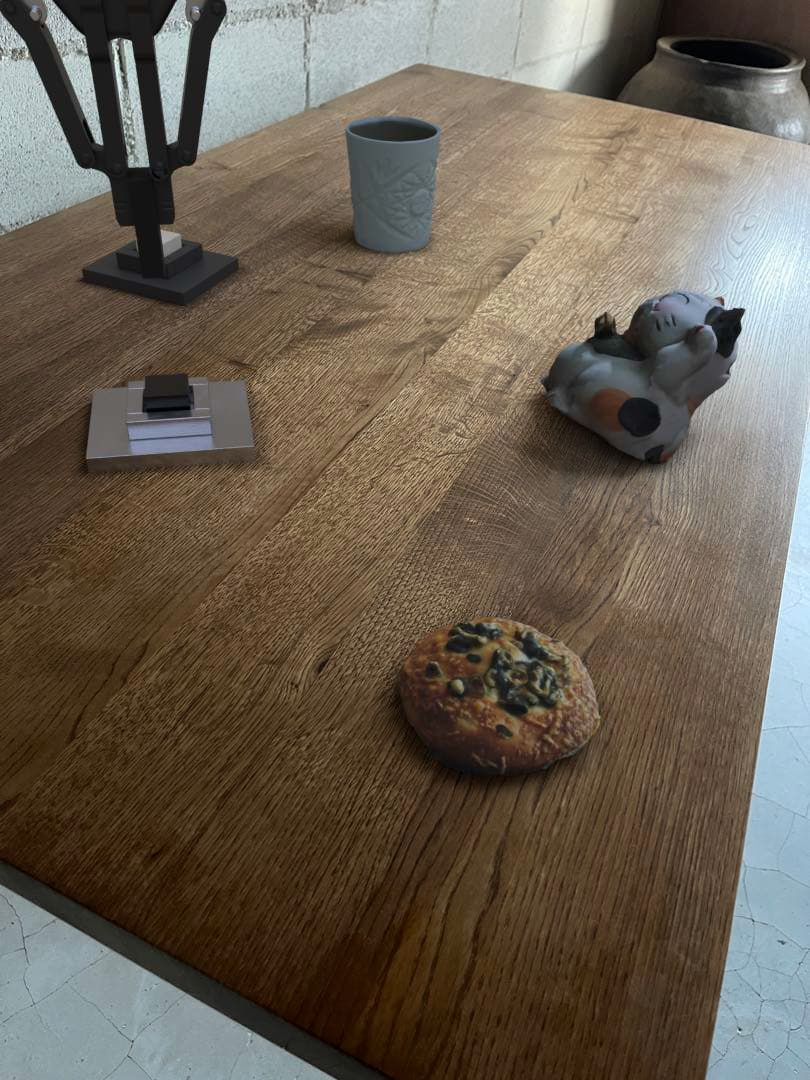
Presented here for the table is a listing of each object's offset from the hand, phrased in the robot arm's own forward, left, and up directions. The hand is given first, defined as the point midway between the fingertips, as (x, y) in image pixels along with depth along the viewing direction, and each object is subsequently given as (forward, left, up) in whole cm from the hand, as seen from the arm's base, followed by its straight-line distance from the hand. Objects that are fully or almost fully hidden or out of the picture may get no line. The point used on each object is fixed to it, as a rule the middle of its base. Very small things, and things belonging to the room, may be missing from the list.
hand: (153, 269), depth 63 cm
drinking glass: (+10, +44, -13) cm, 47 cm away
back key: (-11, +28, -11) cm, 32 cm away
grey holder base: (0, 0, -13) cm, 13 cm away
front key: (0, 0, -11) cm, 11 cm away
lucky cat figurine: (+35, +9, -13) cm, 38 cm away
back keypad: (-11, +28, -13) cm, 33 cm away
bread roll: (+27, -23, -13) cm, 38 cm away
